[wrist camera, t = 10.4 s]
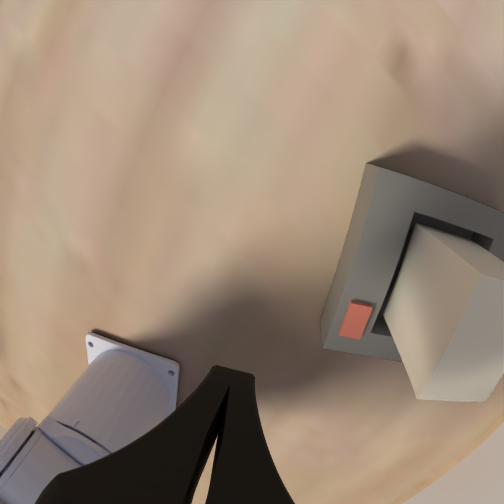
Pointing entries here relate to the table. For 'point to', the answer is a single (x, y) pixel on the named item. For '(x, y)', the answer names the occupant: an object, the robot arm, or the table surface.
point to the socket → (392, 254)
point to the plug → (449, 316)
